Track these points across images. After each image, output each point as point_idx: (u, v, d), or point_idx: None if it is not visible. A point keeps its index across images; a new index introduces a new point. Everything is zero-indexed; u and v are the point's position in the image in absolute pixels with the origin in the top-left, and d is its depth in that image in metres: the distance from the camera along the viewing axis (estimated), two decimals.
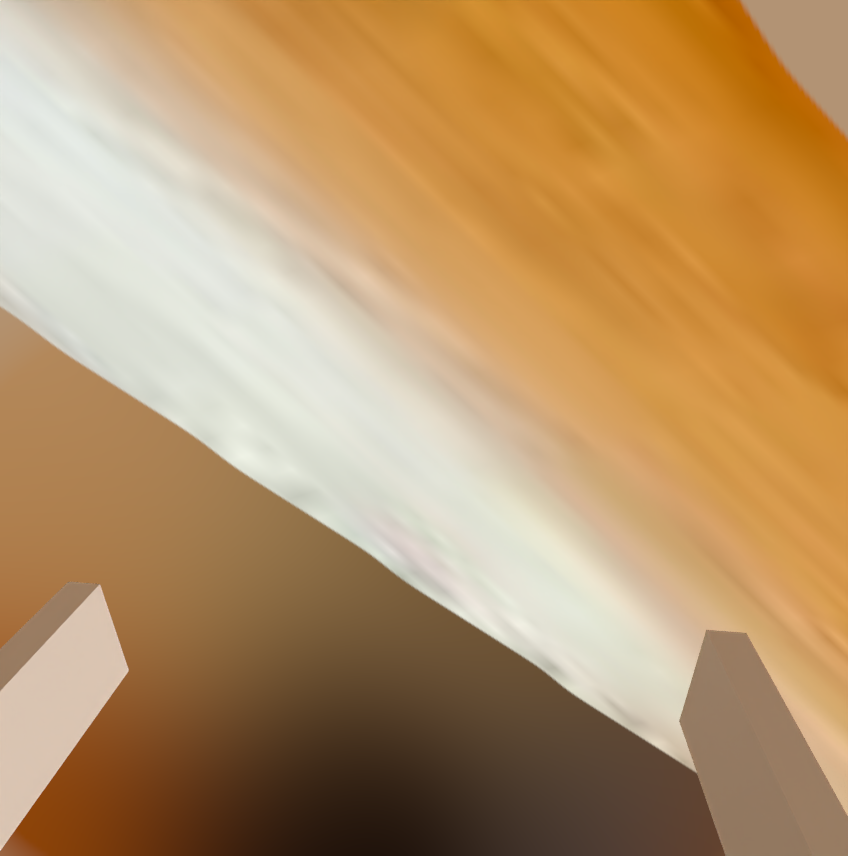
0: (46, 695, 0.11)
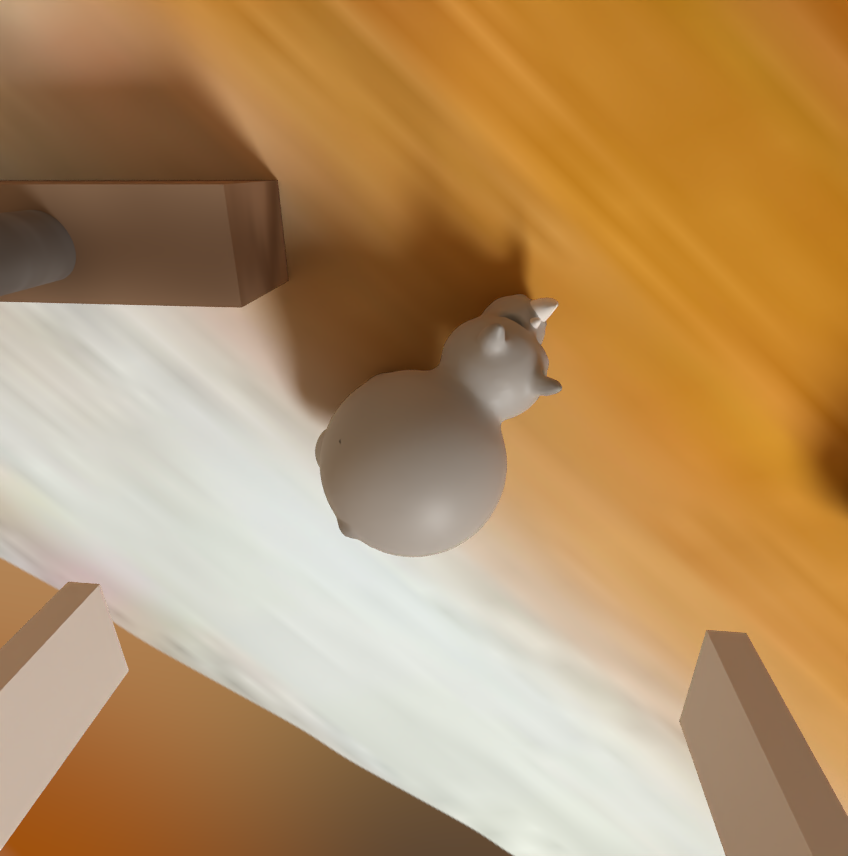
0: (46, 695, 0.11)
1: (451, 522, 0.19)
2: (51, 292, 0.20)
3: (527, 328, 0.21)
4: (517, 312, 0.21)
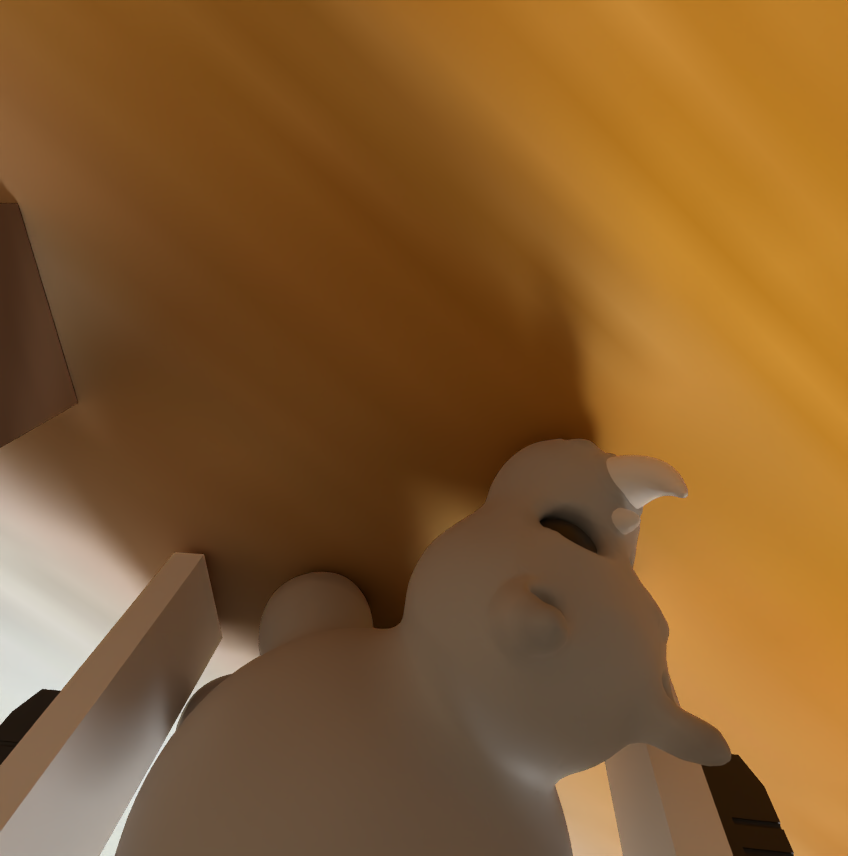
0: (167, 653, 0.12)
1: None
2: None
3: (609, 544, 0.08)
4: (580, 498, 0.09)
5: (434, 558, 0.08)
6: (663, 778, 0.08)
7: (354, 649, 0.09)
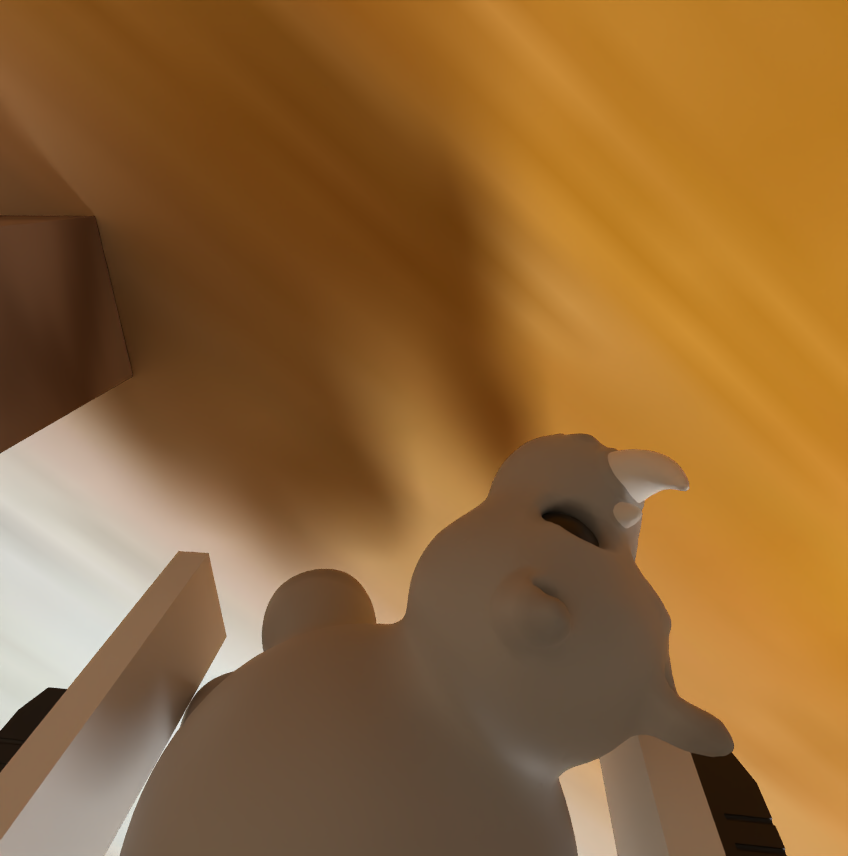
0: (172, 651, 0.12)
1: None
2: None
3: (611, 537, 0.08)
4: (582, 492, 0.09)
5: (437, 553, 0.09)
6: (656, 774, 0.08)
7: (358, 644, 0.09)
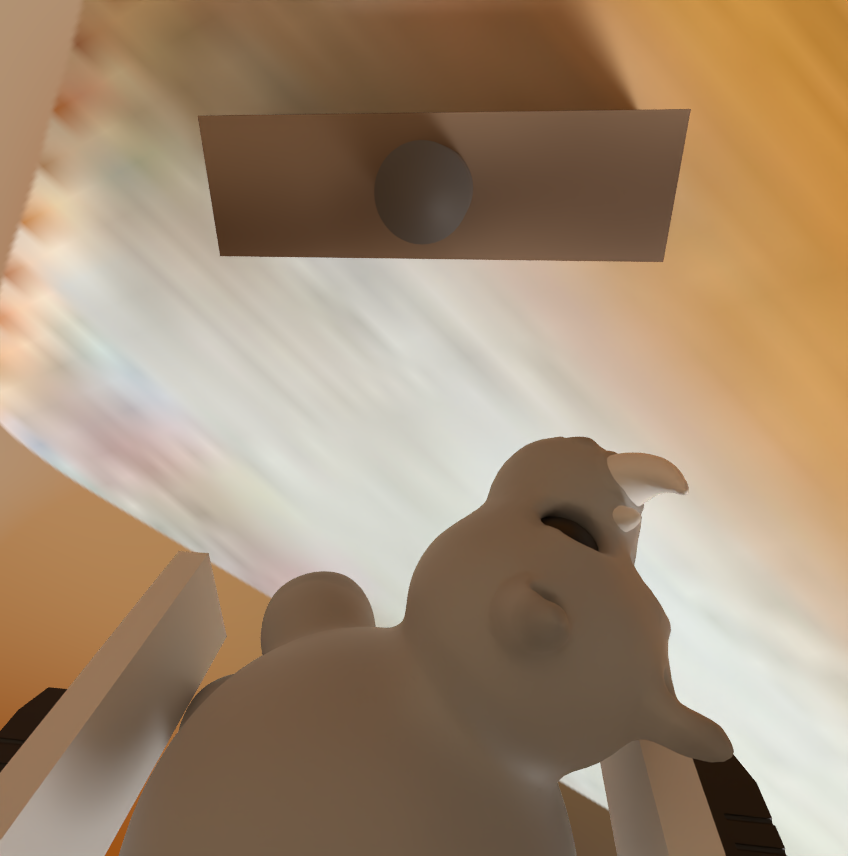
0: (172, 651, 0.12)
1: None
2: (426, 246, 0.17)
3: (610, 541, 0.08)
4: (581, 496, 0.09)
5: (436, 557, 0.08)
6: (656, 774, 0.08)
7: (356, 648, 0.09)
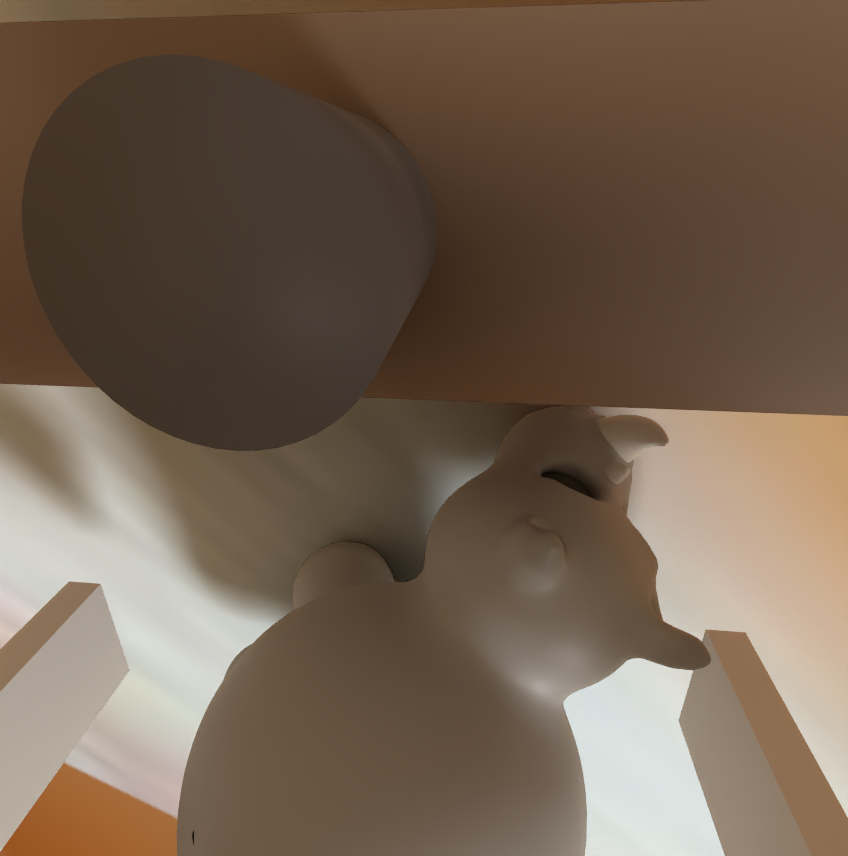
0: (47, 695, 0.11)
1: None
2: None
3: (602, 491, 0.10)
4: (576, 454, 0.10)
5: (449, 510, 0.10)
6: None
7: (382, 594, 0.10)
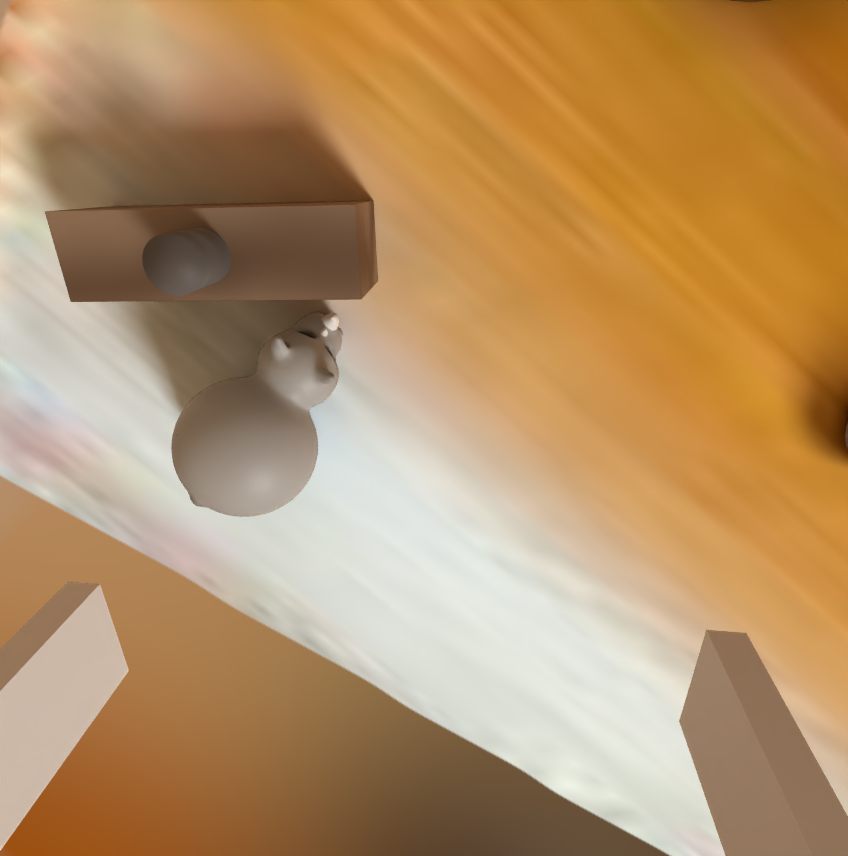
0: (46, 695, 0.11)
1: (259, 482, 0.26)
2: (207, 292, 0.25)
3: (316, 337, 0.28)
4: (310, 326, 0.28)
5: (264, 345, 0.28)
6: None
7: None
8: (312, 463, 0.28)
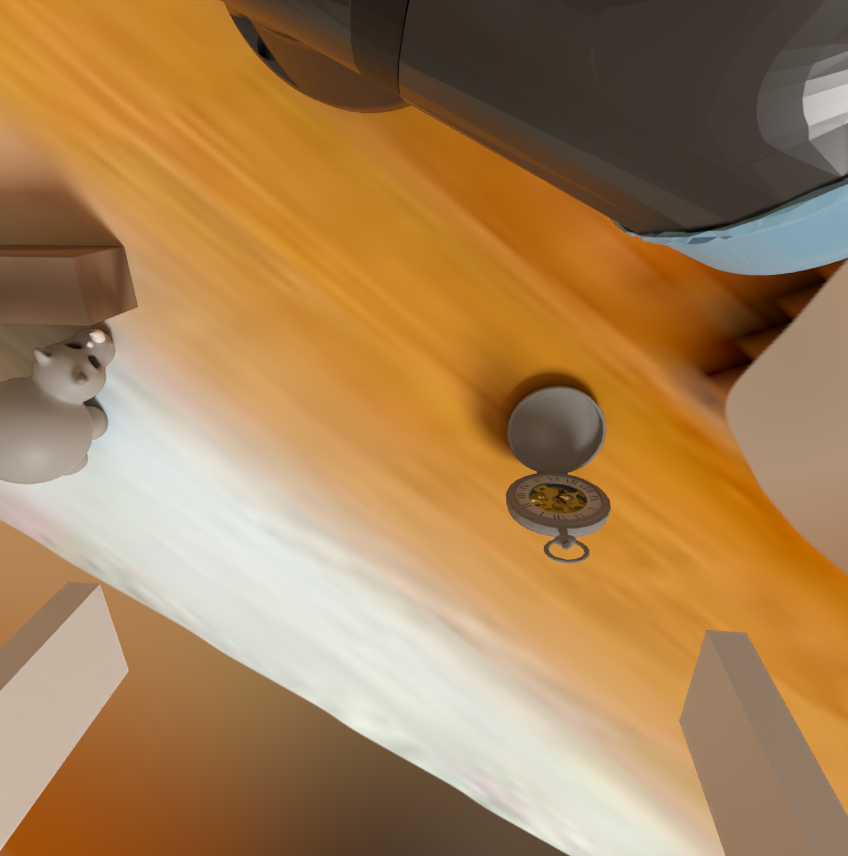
0: (46, 695, 0.11)
1: (20, 458, 0.34)
2: None
3: (81, 348, 0.36)
4: (79, 339, 0.37)
5: None
6: None
7: None
8: (77, 445, 0.37)
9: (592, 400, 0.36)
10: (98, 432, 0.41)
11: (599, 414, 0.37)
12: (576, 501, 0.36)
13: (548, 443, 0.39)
